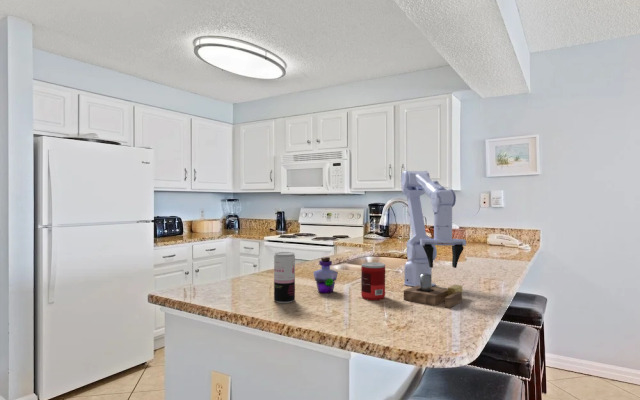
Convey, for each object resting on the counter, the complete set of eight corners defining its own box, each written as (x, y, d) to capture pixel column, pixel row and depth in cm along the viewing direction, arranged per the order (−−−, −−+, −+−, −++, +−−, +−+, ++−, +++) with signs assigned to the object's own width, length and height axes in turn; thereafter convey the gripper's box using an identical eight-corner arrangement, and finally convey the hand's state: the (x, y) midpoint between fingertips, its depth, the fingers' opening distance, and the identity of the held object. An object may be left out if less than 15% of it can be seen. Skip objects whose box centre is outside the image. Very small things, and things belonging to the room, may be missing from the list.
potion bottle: (324, 295, 131) (324, 259, 131) (308, 291, 137) (308, 257, 137) (343, 291, 137) (343, 257, 137) (326, 287, 143) (326, 254, 143)
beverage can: (285, 297, 129) (286, 251, 129) (299, 300, 125) (299, 253, 124) (269, 300, 125) (270, 253, 125) (282, 304, 120) (283, 255, 120)
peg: (417, 299, 127) (417, 274, 127) (423, 297, 130) (423, 272, 129) (427, 301, 124) (427, 276, 124) (433, 299, 127) (433, 274, 127)
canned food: (387, 296, 131) (387, 263, 131) (381, 301, 124) (381, 266, 124) (365, 293, 134) (365, 261, 134) (358, 299, 127) (358, 265, 127)
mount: (403, 299, 126) (403, 290, 126) (417, 294, 134) (418, 285, 134) (449, 308, 117) (449, 298, 117) (461, 301, 124) (461, 292, 124)
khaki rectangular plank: (447, 300, 126) (447, 287, 126) (455, 296, 131) (455, 284, 131) (455, 301, 125) (455, 288, 125) (462, 297, 129) (462, 285, 129)
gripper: (423, 226, 126) (423, 269, 126) (469, 227, 126) (469, 269, 126) (418, 225, 133) (418, 265, 133) (462, 225, 133) (461, 265, 133)
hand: (442, 267), depth 130 cm, fingers open, 7 cm apart
